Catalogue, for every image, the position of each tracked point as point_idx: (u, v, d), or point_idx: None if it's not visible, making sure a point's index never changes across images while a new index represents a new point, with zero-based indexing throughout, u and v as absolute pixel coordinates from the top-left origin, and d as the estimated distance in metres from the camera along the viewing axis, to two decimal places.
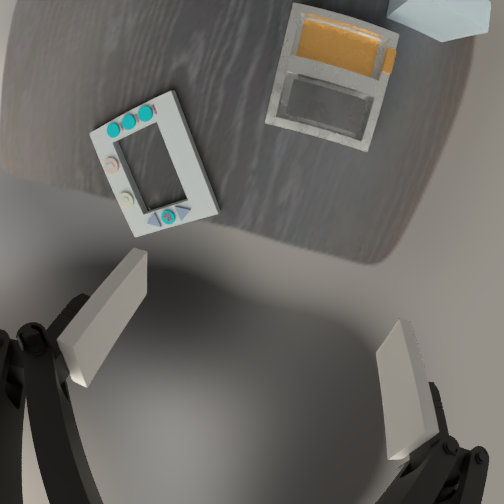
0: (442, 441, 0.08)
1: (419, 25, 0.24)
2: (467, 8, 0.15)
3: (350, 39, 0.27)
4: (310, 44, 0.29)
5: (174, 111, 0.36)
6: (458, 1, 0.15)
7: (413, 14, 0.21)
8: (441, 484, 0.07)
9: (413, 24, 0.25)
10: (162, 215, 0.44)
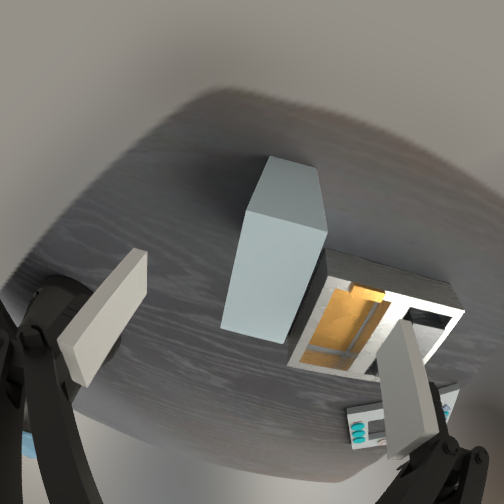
0: (442, 441, 0.08)
1: None
2: (286, 270, 0.16)
3: (331, 307, 0.29)
4: (335, 340, 0.31)
5: (365, 413, 0.39)
6: (276, 286, 0.16)
7: None
8: (441, 484, 0.07)
9: None
10: None
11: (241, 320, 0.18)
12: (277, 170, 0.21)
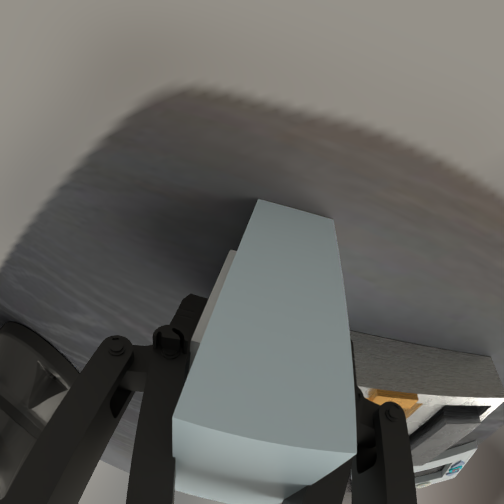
0: None
1: None
2: (267, 478, 0.07)
3: None
4: None
5: None
6: (251, 485, 0.07)
7: None
8: None
9: None
10: (451, 471, 0.30)
11: (202, 492, 0.09)
12: (265, 239, 0.12)
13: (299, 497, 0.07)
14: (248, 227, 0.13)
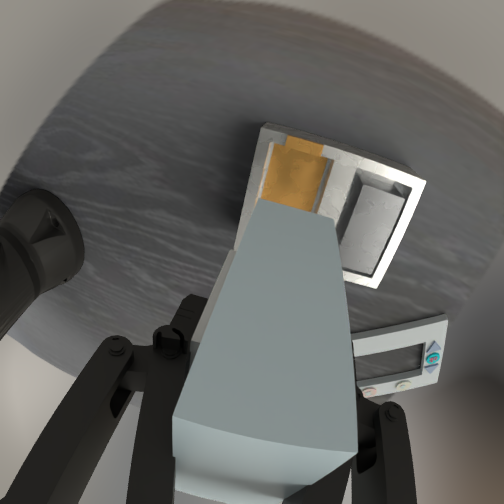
0: None
1: None
2: (267, 478, 0.07)
3: (276, 180, 0.28)
4: None
5: None
6: (252, 485, 0.07)
7: None
8: None
9: None
10: (429, 362, 0.38)
11: (201, 492, 0.09)
12: (266, 238, 0.12)
13: (299, 497, 0.07)
14: (248, 226, 0.13)
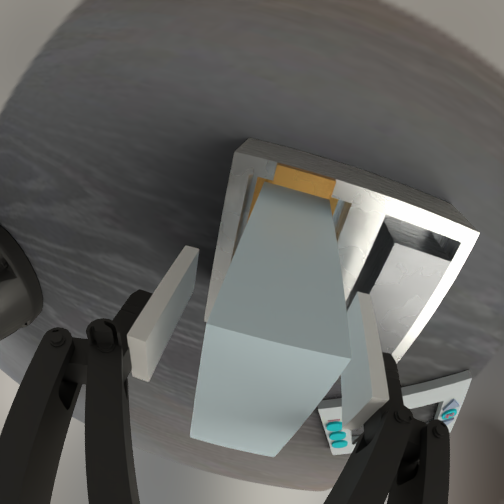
0: (392, 411, 0.09)
1: None
2: (277, 399, 0.09)
3: None
4: None
5: None
6: (263, 413, 0.10)
7: None
8: (400, 456, 0.08)
9: None
10: (444, 418, 0.29)
11: (216, 435, 0.11)
12: (272, 210, 0.15)
13: None
14: (257, 201, 0.15)
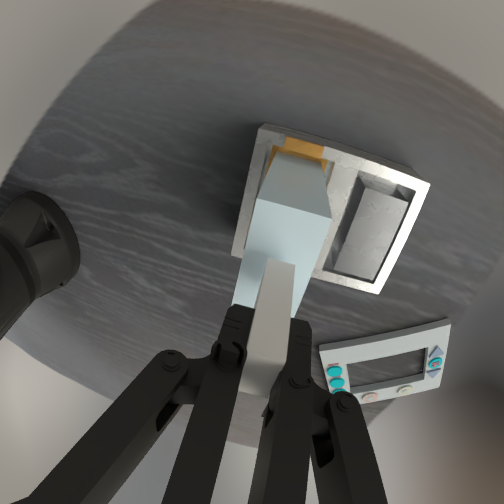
0: (286, 377, 0.10)
1: None
2: (293, 255, 0.17)
3: None
4: None
5: (340, 350, 0.38)
6: None
7: None
8: (310, 423, 0.09)
9: None
10: (432, 367, 0.37)
11: (250, 304, 0.19)
12: (284, 164, 0.22)
13: (261, 492, 0.07)
14: (274, 159, 0.23)
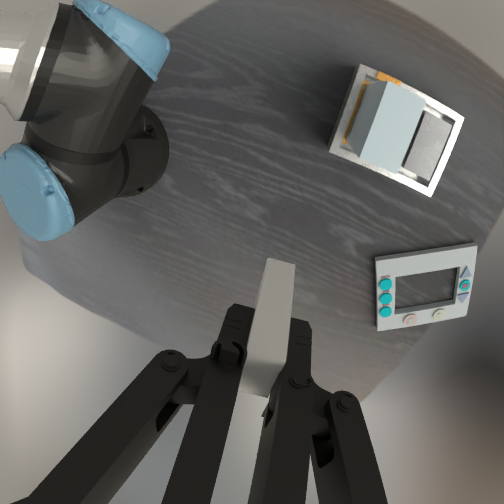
0: (286, 378, 0.10)
1: None
2: (404, 118, 0.23)
3: None
4: None
5: (393, 261, 0.44)
6: (398, 128, 0.24)
7: None
8: (310, 423, 0.09)
9: None
10: (462, 289, 0.44)
11: (374, 152, 0.25)
12: None
13: (261, 492, 0.07)
14: (371, 83, 0.29)
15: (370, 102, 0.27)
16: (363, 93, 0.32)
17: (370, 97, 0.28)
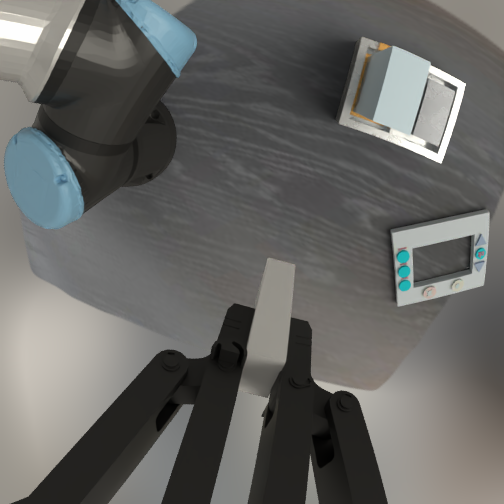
0: (286, 378, 0.10)
1: None
2: (412, 81, 0.22)
3: None
4: None
5: (409, 232, 0.43)
6: (407, 90, 0.23)
7: None
8: (310, 423, 0.09)
9: None
10: (478, 258, 0.42)
11: (387, 114, 0.24)
12: None
13: (261, 492, 0.07)
14: (374, 54, 0.28)
15: (376, 70, 0.26)
16: (367, 65, 0.31)
17: (375, 66, 0.26)
